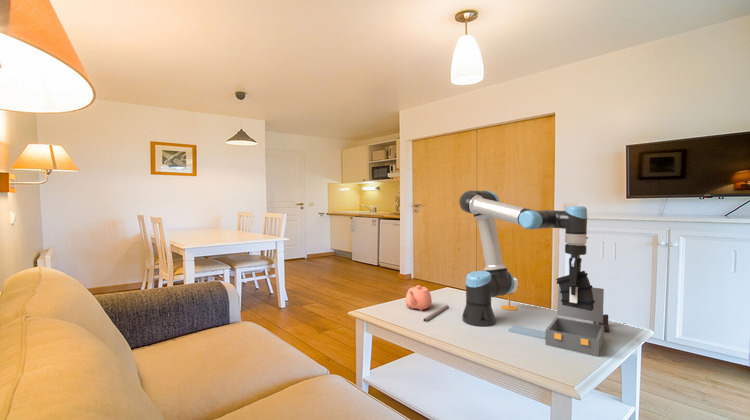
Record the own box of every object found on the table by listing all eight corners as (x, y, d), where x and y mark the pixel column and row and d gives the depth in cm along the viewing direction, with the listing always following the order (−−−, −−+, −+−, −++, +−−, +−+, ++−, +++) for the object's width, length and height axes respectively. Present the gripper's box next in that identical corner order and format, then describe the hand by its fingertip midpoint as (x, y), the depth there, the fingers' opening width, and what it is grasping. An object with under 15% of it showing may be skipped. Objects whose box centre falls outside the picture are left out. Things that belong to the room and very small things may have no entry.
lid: (558, 283, 155) (559, 283, 156) (557, 315, 153) (557, 314, 154) (603, 288, 145) (603, 288, 146) (602, 323, 143) (603, 322, 144)
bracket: (593, 331, 153) (593, 320, 153) (593, 323, 164) (593, 312, 164) (609, 333, 150) (609, 322, 150) (607, 325, 161) (607, 314, 161)
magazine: (601, 309, 132) (582, 271, 136) (566, 316, 141) (550, 280, 145) (603, 306, 135) (585, 270, 139) (569, 314, 143) (553, 279, 147)
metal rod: (448, 308, 188) (448, 305, 188) (426, 322, 165) (426, 318, 165) (445, 308, 189) (445, 304, 189) (423, 322, 166) (423, 317, 166)
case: (545, 345, 137) (545, 306, 137) (557, 327, 157) (557, 293, 157) (598, 357, 126) (598, 315, 126) (605, 336, 146) (605, 300, 146)
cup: (498, 305, 193) (498, 276, 192) (515, 305, 191) (515, 277, 191) (502, 310, 184) (502, 280, 183) (520, 310, 182) (520, 280, 182)
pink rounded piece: (398, 311, 182) (398, 288, 182) (414, 302, 199) (414, 281, 199) (421, 315, 175) (421, 291, 175) (436, 305, 192) (436, 284, 192)
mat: (508, 331, 153) (508, 329, 153) (513, 326, 159) (513, 324, 159) (544, 339, 143) (544, 337, 143) (549, 333, 150) (549, 332, 150)
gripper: (583, 247, 130) (581, 308, 131) (589, 242, 144) (587, 298, 145) (561, 245, 135) (559, 304, 136) (568, 241, 149) (567, 295, 149)
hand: (574, 301), depth 140 cm, fingers closed on magazine, 4 cm apart
